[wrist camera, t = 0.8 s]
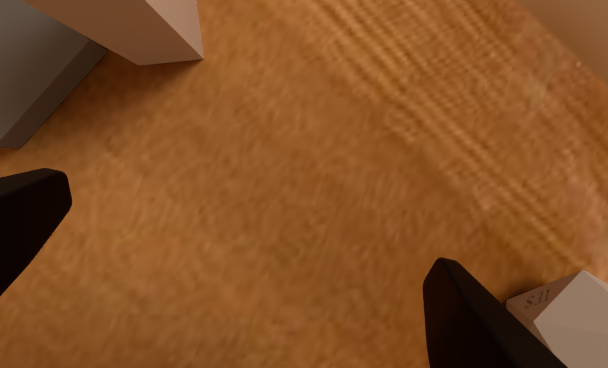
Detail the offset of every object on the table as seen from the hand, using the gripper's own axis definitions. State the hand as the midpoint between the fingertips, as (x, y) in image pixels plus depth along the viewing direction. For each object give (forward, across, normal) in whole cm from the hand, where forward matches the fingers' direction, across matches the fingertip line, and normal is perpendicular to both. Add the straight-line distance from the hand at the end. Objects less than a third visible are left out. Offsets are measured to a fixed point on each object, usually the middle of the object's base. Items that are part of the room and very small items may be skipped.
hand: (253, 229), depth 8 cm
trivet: (+15, +20, +3) cm, 25 cm away
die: (+11, -20, +12) cm, 26 cm away
